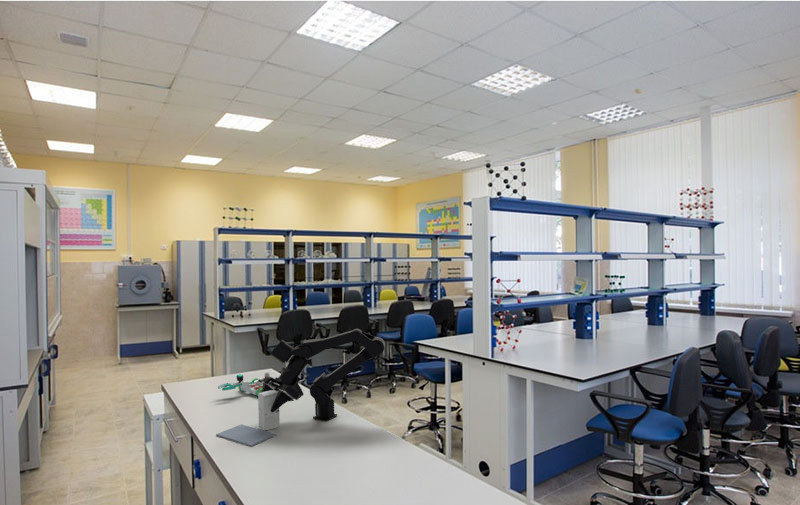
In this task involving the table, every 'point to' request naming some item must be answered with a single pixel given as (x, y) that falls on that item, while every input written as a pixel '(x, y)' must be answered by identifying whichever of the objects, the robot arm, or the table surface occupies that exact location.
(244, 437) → the blue-gray mat
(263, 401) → the skincare box
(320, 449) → the table surface
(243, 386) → the robot kit
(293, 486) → the table surface
